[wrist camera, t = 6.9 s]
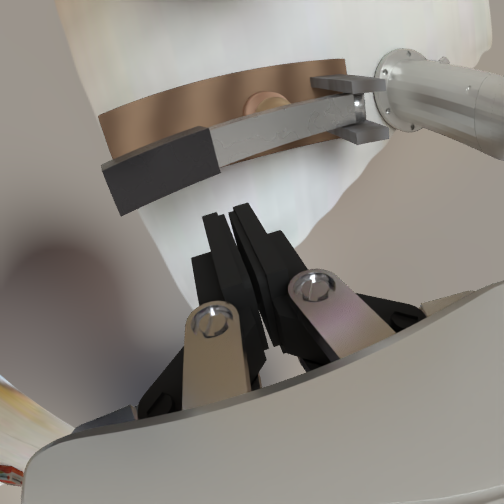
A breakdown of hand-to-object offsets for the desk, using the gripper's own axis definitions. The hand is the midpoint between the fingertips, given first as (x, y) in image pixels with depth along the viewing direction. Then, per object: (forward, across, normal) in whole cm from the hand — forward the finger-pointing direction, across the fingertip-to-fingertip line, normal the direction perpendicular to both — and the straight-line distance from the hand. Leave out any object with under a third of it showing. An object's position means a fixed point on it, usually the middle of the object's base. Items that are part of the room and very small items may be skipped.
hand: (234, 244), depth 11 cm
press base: (+25, -5, 0) cm, 25 cm away
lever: (+16, -5, 0) cm, 17 cm away
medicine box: (+23, +124, +89) cm, 155 cm away
